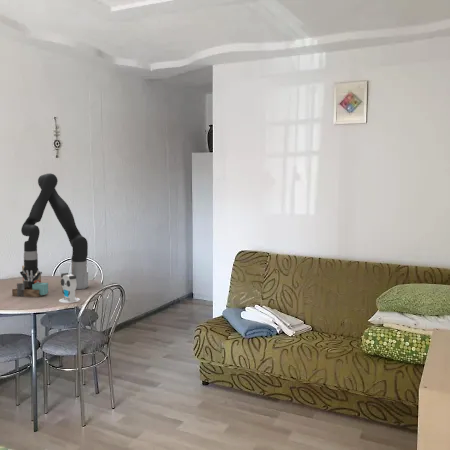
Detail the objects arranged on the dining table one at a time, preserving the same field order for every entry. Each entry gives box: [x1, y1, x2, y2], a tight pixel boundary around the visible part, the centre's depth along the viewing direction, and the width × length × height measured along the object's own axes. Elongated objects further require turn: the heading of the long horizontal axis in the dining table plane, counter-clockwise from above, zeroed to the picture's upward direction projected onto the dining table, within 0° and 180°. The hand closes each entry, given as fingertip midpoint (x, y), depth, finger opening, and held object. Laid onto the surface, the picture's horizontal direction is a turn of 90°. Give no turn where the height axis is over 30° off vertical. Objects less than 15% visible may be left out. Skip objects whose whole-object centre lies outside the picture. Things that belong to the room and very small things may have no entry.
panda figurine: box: [58, 272, 81, 304], centre depth 272 cm, size 12×11×15 cm
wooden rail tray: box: [11, 280, 43, 298], centre depth 282 cm, size 16×8×8 cm, turn 85°
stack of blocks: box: [21, 265, 42, 283], centre depth 304 cm, size 21×6×12 cm, turn 36°
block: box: [32, 282, 49, 296], centre depth 282 cm, size 7×5×6 cm
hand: (31, 287), depth 282 cm, fingers closed
